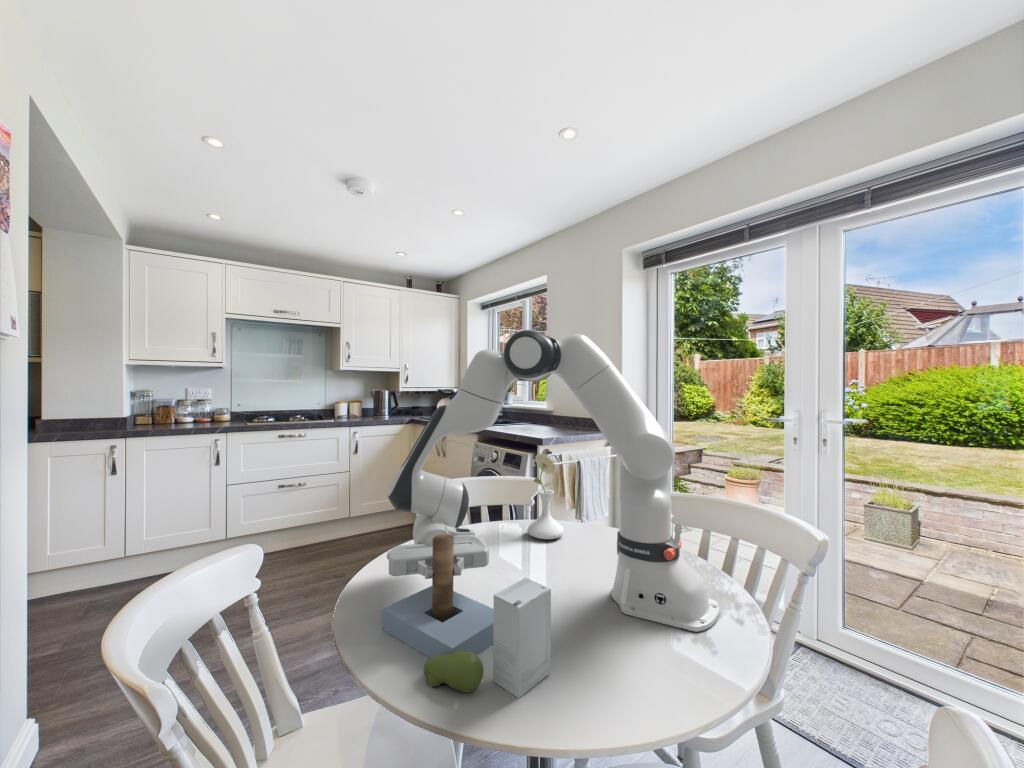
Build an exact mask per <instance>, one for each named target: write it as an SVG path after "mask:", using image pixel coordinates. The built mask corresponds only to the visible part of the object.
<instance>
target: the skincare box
mask: <svg viewBox="0 0 1024 768" xmlns="http://www.w3.org/2000/svg"><path fill="white" fill-rule="evenodd" d="M493 609H494V644H493V645H492V646H493V651H492V652H493V653H492V654H493V664H492V665H493V669H492V672H493V673H492V675H493V676H492V677H493V682H494V683H496V684H497V685H498V686H500V687H501V688H503V689H504V690H506V691H507V692H508V693H510V694H511V695H513V696H514V697H515V698H518V699H519V698H521V697H522V696H524V695H525V694H526V693H528V691H530V690H531V689H532V688H534V687H535V686H536V685H538V683H540V682H541V681H542V680H544V678H546V677H548V676H549V675H550V674H551V655H552V654H551V653H552V652H551V643H552V642H551V639H552V638H551V637H552V635H551V634H552V632H551V630H552V628H551V627H552V623H551V622H552V617H551V616H552V589H551V588H550V587H548V586H545V585H544V584H541V583H538V582H537V581H534V580H532V579H530V578H527V577H525V578H523V579H521V580H519V581H516V582H515V583H513V584H512V585H510V586H507V587H506V588H504V589H502V590H500V591H498V592H496V593H494V594H493Z"/></svg>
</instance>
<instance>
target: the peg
mask: <svg viewBox="0 0 1024 768" xmlns="http://www.w3.org/2000/svg"><path fill="white" fill-rule="evenodd" d="M453 561H454V537H453V536H451V535H447V534H442V535H437V536H434V537H433V558H432V568H433V578H431V579H432V582H431V584H432V585H431V586H432V617H433V618H434V619H436V620H438V621H440V622H442V623H443V622H445V621H446V620H448V619H450V618H452V617H453V591H454V576H453Z"/></svg>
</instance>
